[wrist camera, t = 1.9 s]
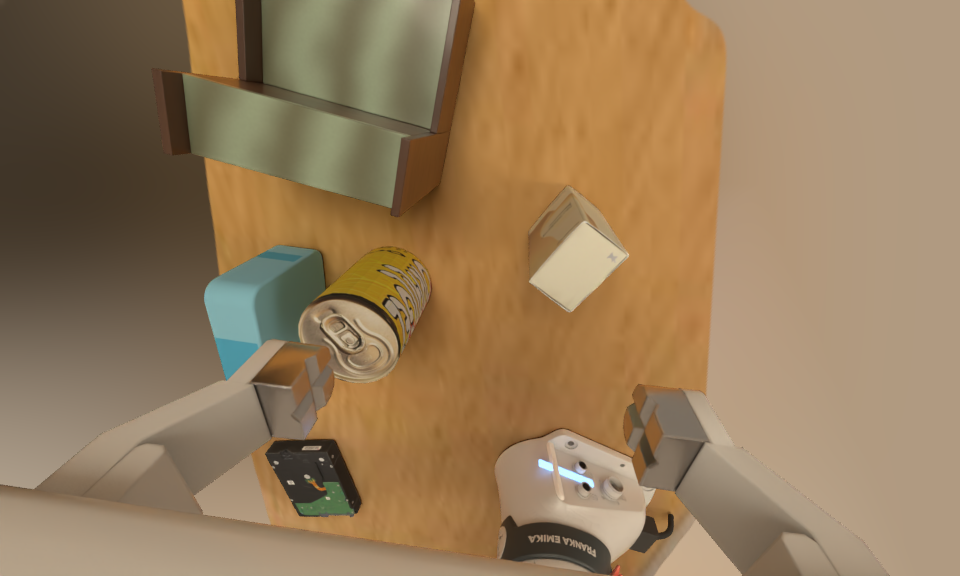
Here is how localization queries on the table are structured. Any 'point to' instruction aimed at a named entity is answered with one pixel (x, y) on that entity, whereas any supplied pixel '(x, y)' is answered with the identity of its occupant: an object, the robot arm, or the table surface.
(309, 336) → the beverage can
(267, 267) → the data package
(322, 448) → the disk drive
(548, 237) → the cosmetic box
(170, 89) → the step shelf
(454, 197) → the table surface
